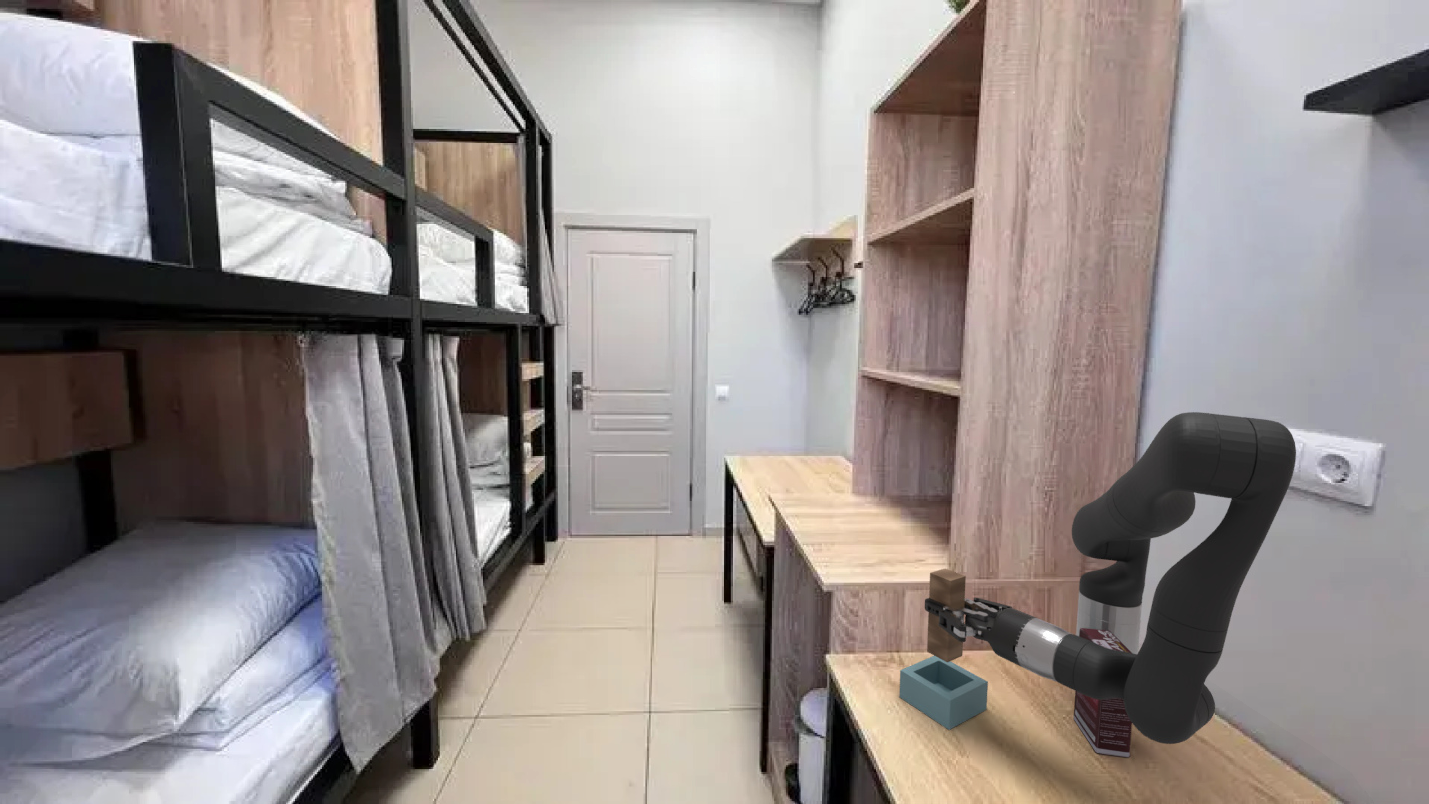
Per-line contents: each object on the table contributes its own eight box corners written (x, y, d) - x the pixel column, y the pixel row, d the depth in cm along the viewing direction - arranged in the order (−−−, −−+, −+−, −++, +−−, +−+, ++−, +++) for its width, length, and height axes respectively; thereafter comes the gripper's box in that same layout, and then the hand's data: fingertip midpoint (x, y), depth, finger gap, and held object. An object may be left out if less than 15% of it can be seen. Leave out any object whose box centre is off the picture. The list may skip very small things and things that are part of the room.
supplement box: (1131, 759, 84) (1139, 658, 83) (1095, 754, 85) (1102, 654, 84) (1104, 721, 92) (1110, 629, 91) (1071, 717, 93) (1077, 626, 92)
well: (899, 697, 99) (900, 670, 98) (936, 680, 104) (937, 654, 104) (948, 729, 90) (950, 700, 90) (986, 709, 95) (987, 681, 95)
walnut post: (927, 651, 97) (929, 572, 96) (942, 645, 99) (945, 568, 98) (947, 662, 93) (950, 580, 92) (962, 655, 95) (965, 576, 94)
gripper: (1060, 608, 86) (961, 571, 101) (1006, 631, 79) (907, 588, 93) (1058, 655, 87) (959, 612, 101) (1004, 682, 79) (906, 631, 94)
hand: (935, 600), depth 97 cm, fingers closed on walnut post, 4 cm apart
